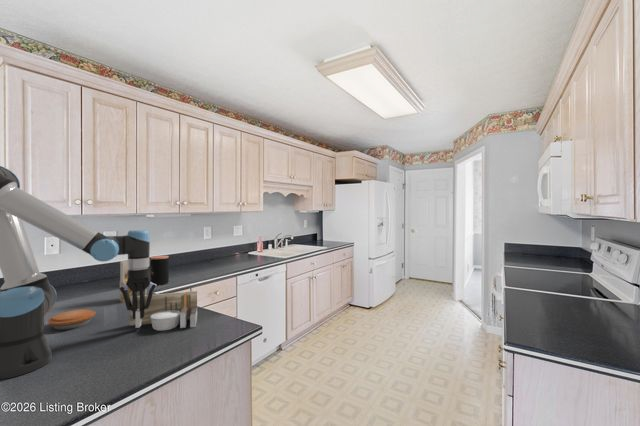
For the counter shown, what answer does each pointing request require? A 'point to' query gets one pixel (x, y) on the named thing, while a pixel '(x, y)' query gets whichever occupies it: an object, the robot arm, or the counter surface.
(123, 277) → the staircase
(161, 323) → the ramekin
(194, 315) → the white striped block
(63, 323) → the pie
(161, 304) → the scale board
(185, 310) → the gauge sled
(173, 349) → the counter surface
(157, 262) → the coffee jar
